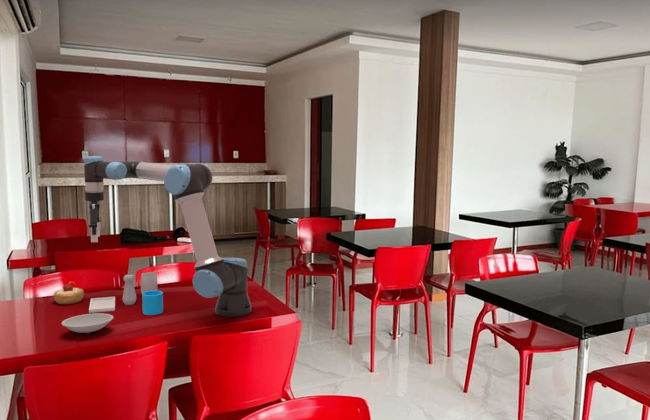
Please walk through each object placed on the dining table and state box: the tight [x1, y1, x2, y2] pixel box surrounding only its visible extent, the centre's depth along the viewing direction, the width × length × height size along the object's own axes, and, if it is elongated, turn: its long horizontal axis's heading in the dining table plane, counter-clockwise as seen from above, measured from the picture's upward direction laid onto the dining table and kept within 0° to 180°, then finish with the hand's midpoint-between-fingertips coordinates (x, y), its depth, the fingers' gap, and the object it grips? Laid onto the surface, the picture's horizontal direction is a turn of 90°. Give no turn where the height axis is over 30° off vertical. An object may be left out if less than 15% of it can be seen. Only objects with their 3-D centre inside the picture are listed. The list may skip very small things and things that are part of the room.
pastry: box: [53, 281, 85, 306], centre depth 233 cm, size 12×12×9 cm
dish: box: [61, 312, 114, 334], centre depth 195 cm, size 18×14×5 cm
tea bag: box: [140, 271, 158, 295], centre depth 248 cm, size 4×7×10 cm, turn 120°
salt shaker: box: [122, 274, 137, 306], centre depth 231 cm, size 6×6×13 cm
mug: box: [141, 290, 164, 316], centre depth 222 cm, size 12×8×8 cm
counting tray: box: [88, 296, 116, 314], centre depth 227 cm, size 17×10×2 cm, turn 21°
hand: (95, 239), depth 233 cm, fingers open, 13 cm apart
